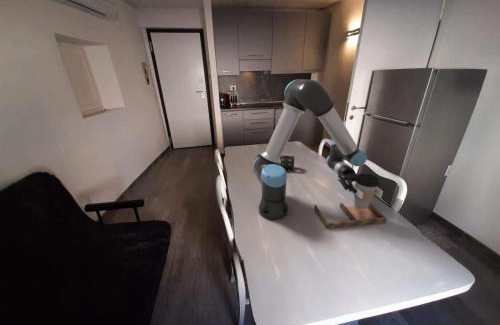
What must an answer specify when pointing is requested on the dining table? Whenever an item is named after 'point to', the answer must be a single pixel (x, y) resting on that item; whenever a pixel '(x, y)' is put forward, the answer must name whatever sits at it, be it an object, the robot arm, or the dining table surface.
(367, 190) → the coffee cup
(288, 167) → the muzzle brake
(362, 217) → the divided wooden tray
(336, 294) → the dining table surface
